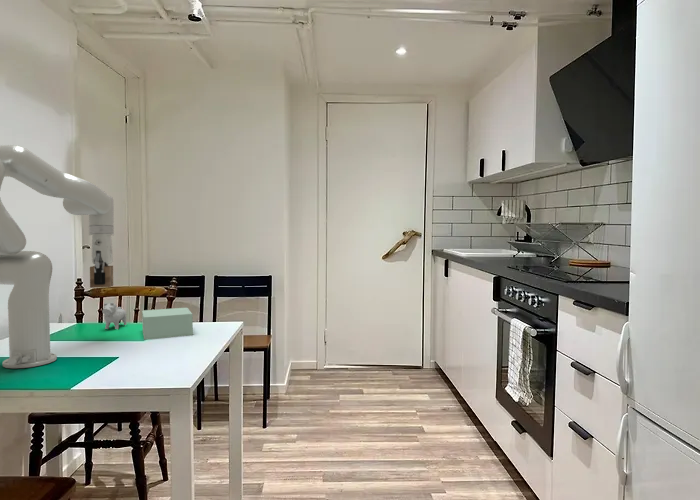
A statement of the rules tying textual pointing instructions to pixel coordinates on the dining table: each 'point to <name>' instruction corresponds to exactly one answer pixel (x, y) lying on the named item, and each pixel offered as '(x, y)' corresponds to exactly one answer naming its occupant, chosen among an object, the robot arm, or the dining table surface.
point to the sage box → (167, 323)
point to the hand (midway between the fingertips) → (101, 283)
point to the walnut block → (108, 277)
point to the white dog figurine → (113, 314)
